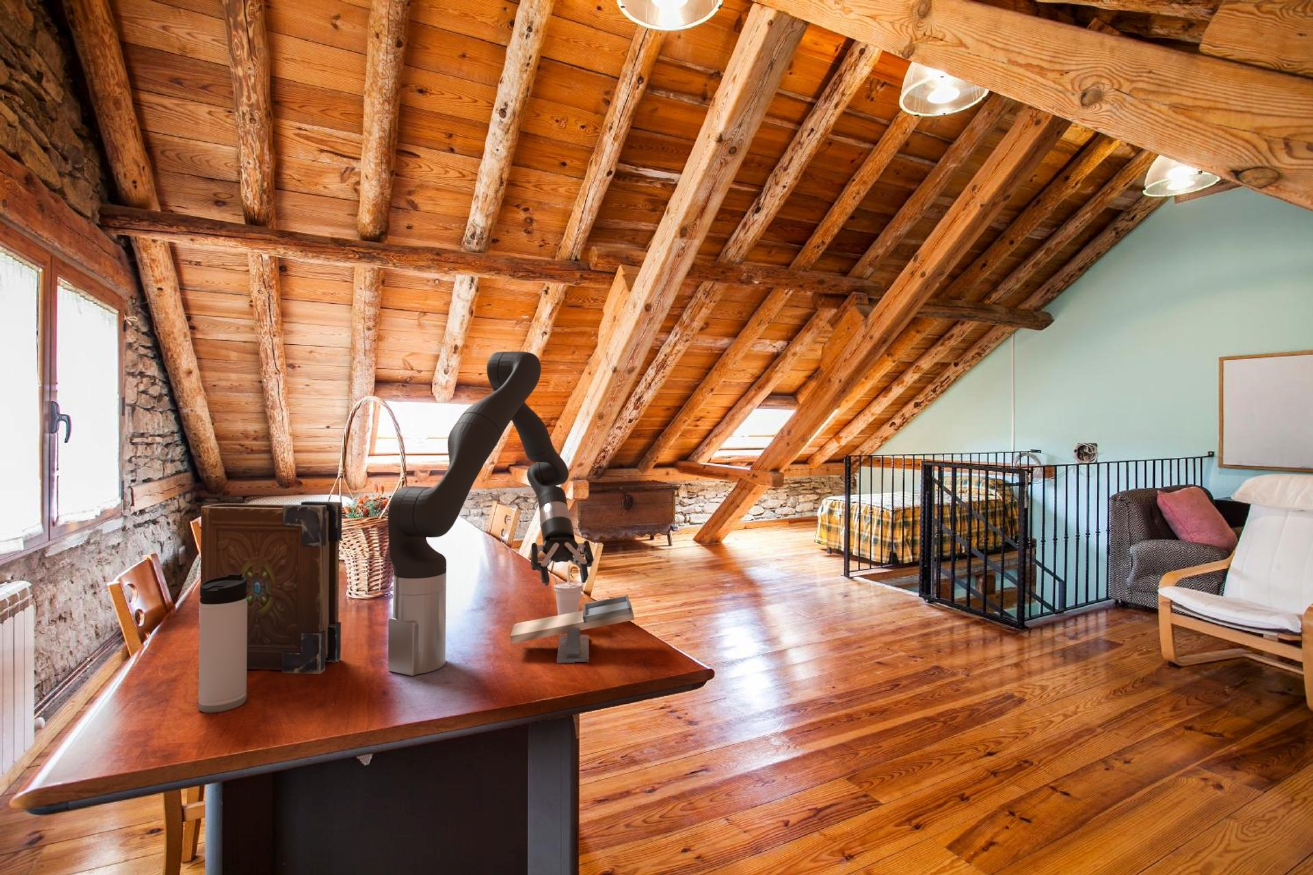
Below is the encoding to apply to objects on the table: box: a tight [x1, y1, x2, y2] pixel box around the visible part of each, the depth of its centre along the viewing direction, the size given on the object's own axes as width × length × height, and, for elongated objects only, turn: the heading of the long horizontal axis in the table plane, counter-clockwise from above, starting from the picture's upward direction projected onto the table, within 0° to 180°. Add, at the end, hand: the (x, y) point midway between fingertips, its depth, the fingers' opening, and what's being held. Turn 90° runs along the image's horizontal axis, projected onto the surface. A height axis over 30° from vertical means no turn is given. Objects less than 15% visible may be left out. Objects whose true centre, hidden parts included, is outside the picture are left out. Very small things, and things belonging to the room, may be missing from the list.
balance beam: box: [509, 594, 635, 645], centre depth 127 cm, size 24×10×3 cm, turn 96°
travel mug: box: [197, 574, 248, 714], centre depth 100 cm, size 6×7×20 cm
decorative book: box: [200, 500, 343, 675], centre depth 117 cm, size 23×7×30 cm, turn 88°
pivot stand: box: [556, 612, 590, 664], centre depth 127 cm, size 6×14×6 cm, turn 7°
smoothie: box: [553, 565, 584, 615], centre depth 142 cm, size 6×6×14 cm
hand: (566, 582), depth 144 cm, fingers open, 8 cm apart
